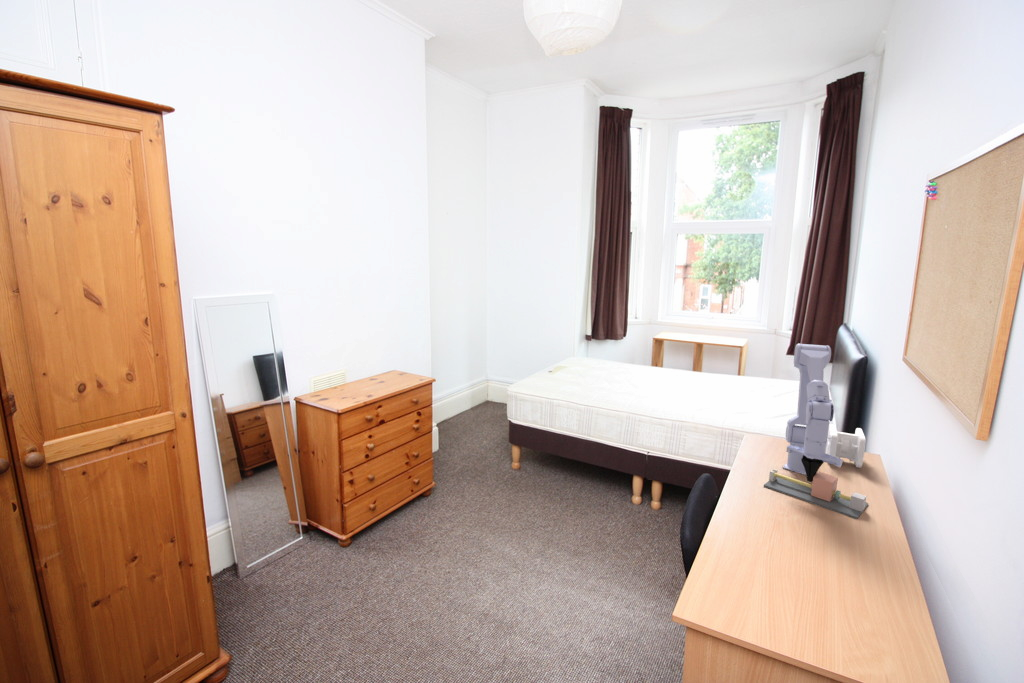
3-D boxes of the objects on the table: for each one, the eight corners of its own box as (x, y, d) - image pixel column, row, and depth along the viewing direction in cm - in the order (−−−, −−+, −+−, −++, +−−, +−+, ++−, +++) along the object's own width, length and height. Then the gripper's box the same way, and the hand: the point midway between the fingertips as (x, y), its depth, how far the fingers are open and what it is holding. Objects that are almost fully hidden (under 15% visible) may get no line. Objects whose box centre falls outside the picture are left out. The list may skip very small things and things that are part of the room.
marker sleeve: (816, 489, 146) (819, 471, 145) (835, 495, 142) (838, 477, 141) (810, 495, 142) (813, 476, 141) (829, 501, 139) (832, 482, 138)
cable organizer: (862, 472, 161) (867, 440, 159) (825, 465, 166) (830, 434, 164) (857, 456, 173) (861, 427, 171) (823, 450, 179) (827, 421, 177)
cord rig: (777, 475, 158) (778, 463, 157) (867, 504, 139) (870, 491, 138) (763, 486, 150) (764, 473, 149) (857, 519, 131) (859, 504, 130)
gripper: (785, 435, 145) (780, 475, 147) (840, 450, 134) (833, 493, 137) (793, 430, 150) (788, 469, 152) (846, 443, 139) (840, 485, 141)
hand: (810, 480), depth 145 cm, fingers closed
